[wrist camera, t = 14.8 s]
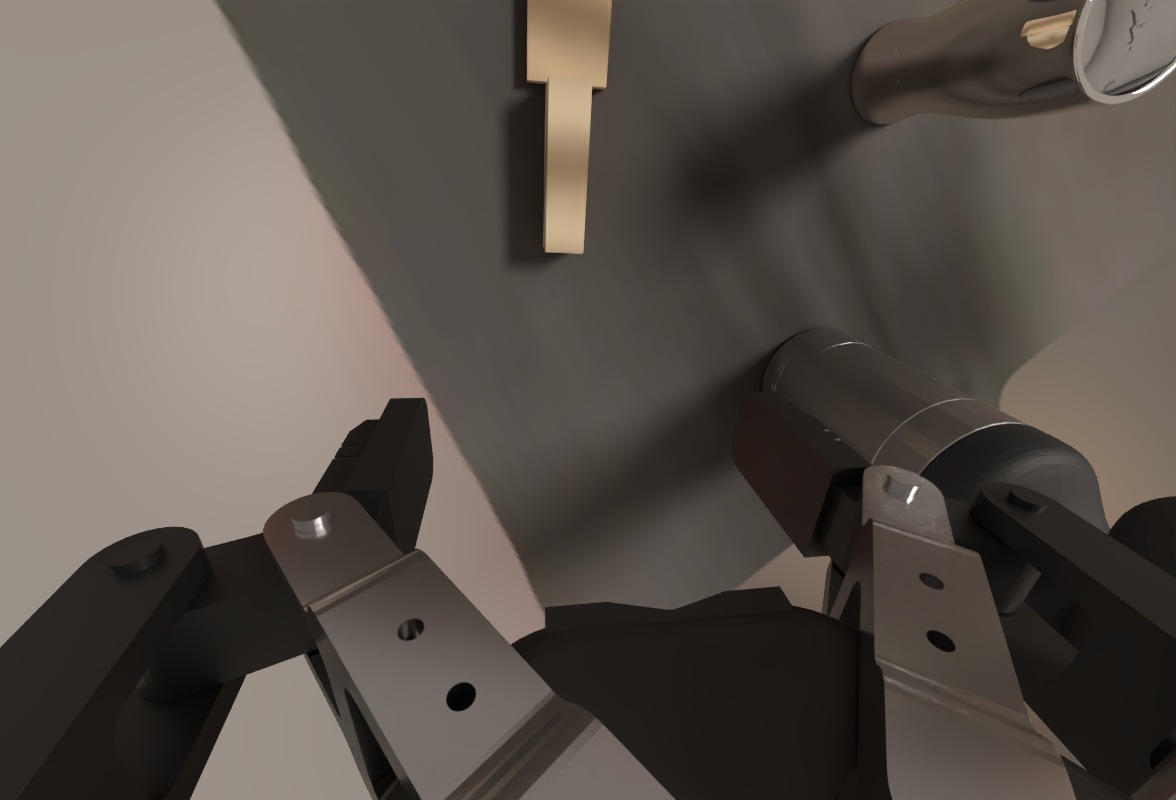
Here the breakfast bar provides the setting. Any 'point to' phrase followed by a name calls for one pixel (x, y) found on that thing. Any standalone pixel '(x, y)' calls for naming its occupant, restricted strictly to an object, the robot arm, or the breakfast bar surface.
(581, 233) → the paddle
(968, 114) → the beer glass
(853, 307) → the breakfast bar surface
